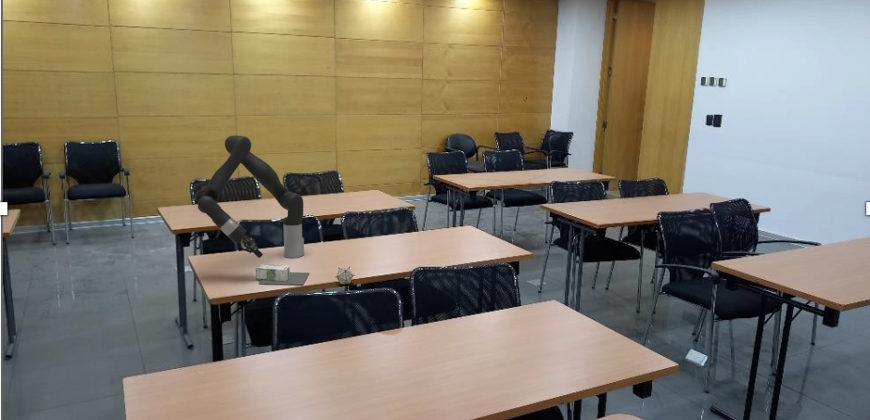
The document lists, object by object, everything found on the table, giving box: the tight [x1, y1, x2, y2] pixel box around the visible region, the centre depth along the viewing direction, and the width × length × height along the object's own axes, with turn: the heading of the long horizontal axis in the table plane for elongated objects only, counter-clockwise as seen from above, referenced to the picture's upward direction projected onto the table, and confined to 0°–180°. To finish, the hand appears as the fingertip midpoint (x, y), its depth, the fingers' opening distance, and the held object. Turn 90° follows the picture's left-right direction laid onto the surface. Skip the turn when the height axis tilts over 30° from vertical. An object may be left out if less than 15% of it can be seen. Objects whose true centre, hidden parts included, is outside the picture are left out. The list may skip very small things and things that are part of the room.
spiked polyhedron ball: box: [334, 266, 356, 287], centre depth 284 cm, size 9×8×10 cm
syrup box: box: [255, 263, 291, 281], centre depth 287 cm, size 6×6×14 cm
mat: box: [258, 271, 310, 287], centre depth 289 cm, size 20×16×1 cm
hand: (261, 256), depth 287 cm, fingers closed
